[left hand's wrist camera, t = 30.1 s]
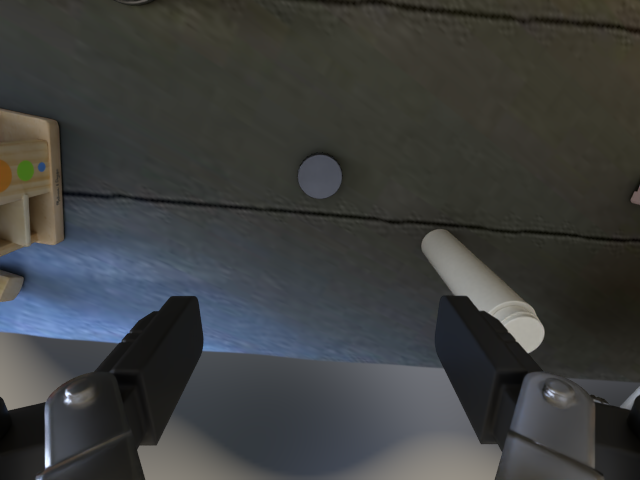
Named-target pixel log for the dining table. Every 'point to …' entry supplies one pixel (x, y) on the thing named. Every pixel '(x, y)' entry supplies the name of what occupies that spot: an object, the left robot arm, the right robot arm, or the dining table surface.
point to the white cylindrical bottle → (482, 287)
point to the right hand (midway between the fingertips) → (626, 366)
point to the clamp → (636, 197)
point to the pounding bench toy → (28, 188)
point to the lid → (319, 175)
